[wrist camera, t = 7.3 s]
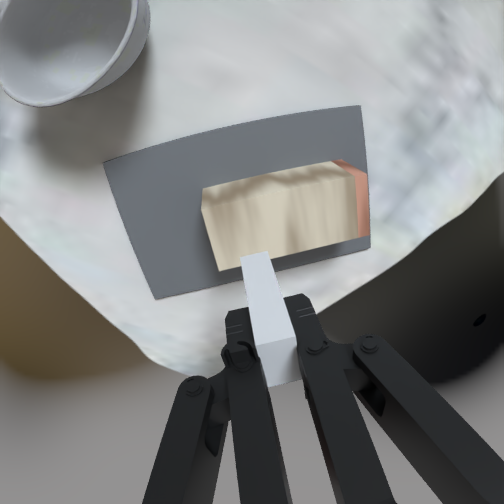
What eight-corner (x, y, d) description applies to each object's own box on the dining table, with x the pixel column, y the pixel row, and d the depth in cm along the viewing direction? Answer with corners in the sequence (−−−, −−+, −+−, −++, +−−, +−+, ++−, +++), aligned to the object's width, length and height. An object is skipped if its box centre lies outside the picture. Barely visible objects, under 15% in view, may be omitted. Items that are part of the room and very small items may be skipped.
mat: (358, 105, 24) (360, 105, 23) (368, 246, 31) (370, 247, 30) (104, 162, 24) (102, 163, 23) (155, 296, 30) (155, 299, 30)
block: (202, 188, 25) (341, 159, 26) (217, 241, 28) (346, 211, 28) (201, 209, 21) (366, 174, 21) (219, 271, 24) (369, 234, 24)
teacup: (187, 27, 19) (176, -2, 12) (95, 126, 22) (52, 141, 15) (81, -48, 13) (45, -81, 6) (3, 45, 16) (-51, 42, 9)
